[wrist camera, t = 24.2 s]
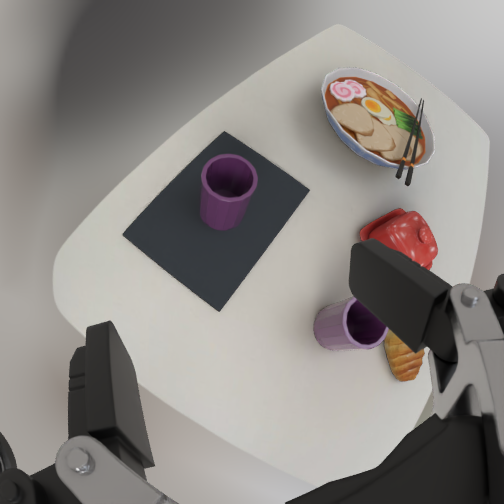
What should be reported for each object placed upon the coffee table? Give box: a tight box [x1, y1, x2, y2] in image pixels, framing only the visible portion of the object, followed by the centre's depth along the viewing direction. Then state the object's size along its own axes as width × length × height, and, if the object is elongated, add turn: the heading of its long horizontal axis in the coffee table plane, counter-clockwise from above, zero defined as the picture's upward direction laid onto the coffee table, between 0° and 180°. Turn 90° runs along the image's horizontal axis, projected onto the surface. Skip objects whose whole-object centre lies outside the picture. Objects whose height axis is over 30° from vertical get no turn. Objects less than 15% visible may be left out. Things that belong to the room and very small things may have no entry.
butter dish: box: [360, 208, 438, 270], centre depth 41 cm, size 12×12×8 cm
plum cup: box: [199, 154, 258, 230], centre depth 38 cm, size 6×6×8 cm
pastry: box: [384, 329, 425, 381], centre depth 39 cm, size 9×7×4 cm
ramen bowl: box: [321, 67, 435, 186], centre depth 48 cm, size 25×23×8 cm
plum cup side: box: [314, 296, 389, 351], centre depth 36 cm, size 6×6×8 cm
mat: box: [123, 131, 310, 312], centre depth 42 cm, size 22×16×1 cm
